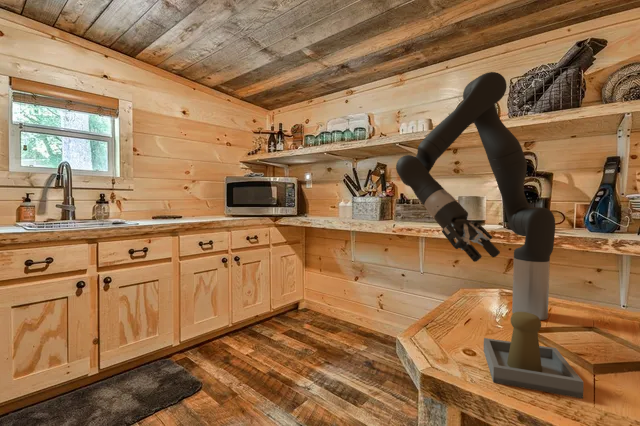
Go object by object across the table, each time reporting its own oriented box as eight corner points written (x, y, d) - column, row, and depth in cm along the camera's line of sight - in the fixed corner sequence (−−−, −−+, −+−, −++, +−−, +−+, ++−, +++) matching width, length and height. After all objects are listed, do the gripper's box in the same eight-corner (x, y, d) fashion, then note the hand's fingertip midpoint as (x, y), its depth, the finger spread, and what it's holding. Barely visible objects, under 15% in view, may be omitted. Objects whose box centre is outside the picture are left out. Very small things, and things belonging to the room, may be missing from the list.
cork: (548, 376, 61) (550, 320, 61) (513, 372, 62) (515, 317, 62) (534, 361, 67) (535, 309, 67) (502, 358, 68) (504, 307, 68)
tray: (483, 350, 74) (483, 337, 74) (555, 361, 69) (556, 348, 69) (493, 382, 61) (493, 366, 61) (583, 398, 56) (583, 381, 56)
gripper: (437, 200, 80) (483, 251, 71) (469, 199, 88) (513, 244, 79) (420, 220, 84) (461, 270, 76) (451, 218, 93) (492, 262, 84)
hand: (488, 257), depth 77 cm, fingers open, 8 cm apart
